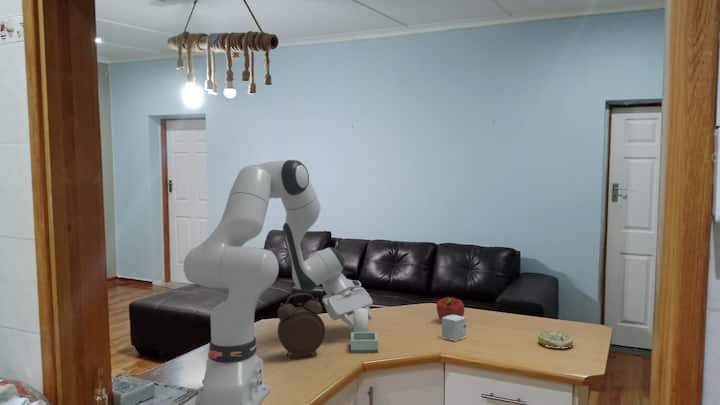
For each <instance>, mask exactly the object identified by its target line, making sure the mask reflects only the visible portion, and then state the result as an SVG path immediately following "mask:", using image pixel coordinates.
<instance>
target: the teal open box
mask: <svg viewBox="0 0 720 405" xmlns="http://www.w3.org/2000/svg"><path fill="white" fill-rule="evenodd" d="M350 353H351V354H373V353H374V354H377V353H379V339H378V332H377V331H368V332H354V331H351V332H350Z"/></svg>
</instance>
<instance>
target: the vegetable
mask: <svg viewBox="0 0 720 405" xmlns="http://www.w3.org/2000/svg"><path fill="white" fill-rule="evenodd" d="M436 313H437V316H438V319H439V320H440V321H441V322H442V317H445V316H448V315H452V314H454V315H458V316H462V317H464V315H465V305H464V302H463V301H462V300H460V299H458V298H455V297H450V296H446V297H444V298H440V299H439V300H438V301H437V303H436Z"/></svg>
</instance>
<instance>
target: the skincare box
mask: <svg viewBox="0 0 720 405" xmlns="http://www.w3.org/2000/svg"><path fill="white" fill-rule="evenodd" d="M464 336H466V337H467V317H466V316H463V317H462V316H458V315H454V314H452V315H448V316H445V317H442V321H441V338H442V337H445V338H448V339H453V340H457V339H459V338H462V337H464Z"/></svg>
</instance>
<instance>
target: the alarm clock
mask: <svg viewBox="0 0 720 405" xmlns="http://www.w3.org/2000/svg"><path fill="white" fill-rule="evenodd" d="M299 296H309V297H311V299H309V300H307V301H306V302H305V303H304V305H303V302H298V303H297V306H299V307H295V306H294V304H292V303H289V302H290V300H291V299H292V298H295V297H299ZM322 311H323V306H322V303H321V302H320V301H319V298H318V297H316V298H315V297H314V296H313V294H311V293H307V292H301V293H293V294H291V295H289V296H288V297H287V299H286V301H285V303H283V302H281V303H280V306H279V307H278V309H277V311H276V312H277V317H278V320H279V323H278V325H277V336H278V339H279V341H280V343H281V345H282V347H283V348H284V350H286V351H287V353H286V354H285V356H286V357H289V354H290V357H289V359H293V357H294V356H299V357H303V356H304V357H305V356H308V355H310V354H312V353H314V355H315V356H317V354H318V353H317V352H316V351H317V350H318V349H319V348H320V347H321V346H322V344H323V342H324V339H325V335H326V326H325V323H324V321H323V319H322V318H321V317H320V315H321V314H322Z"/></svg>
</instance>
